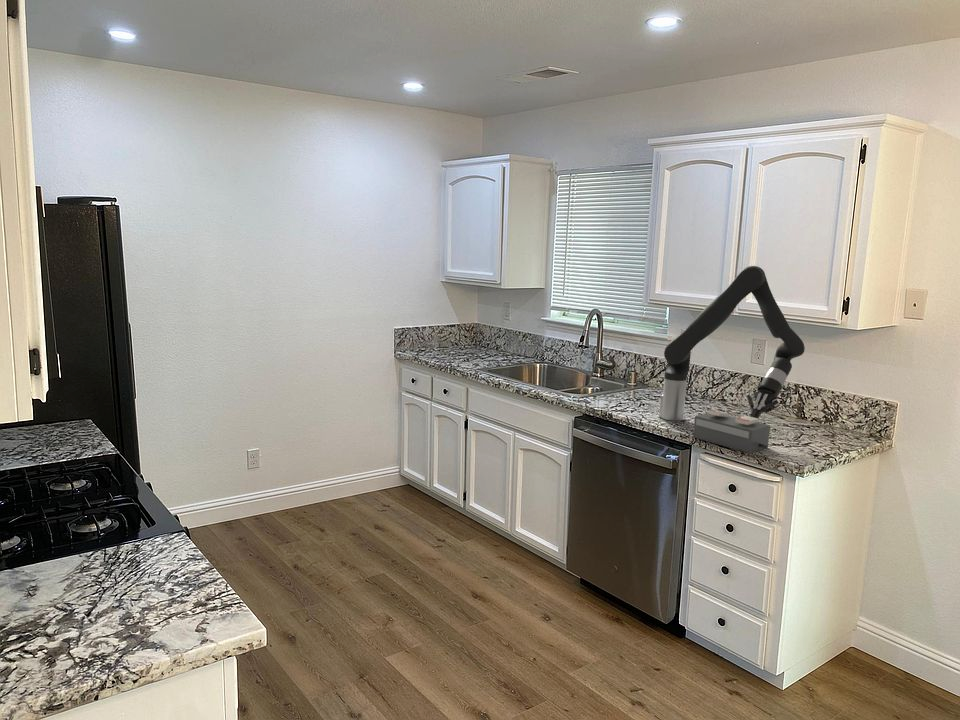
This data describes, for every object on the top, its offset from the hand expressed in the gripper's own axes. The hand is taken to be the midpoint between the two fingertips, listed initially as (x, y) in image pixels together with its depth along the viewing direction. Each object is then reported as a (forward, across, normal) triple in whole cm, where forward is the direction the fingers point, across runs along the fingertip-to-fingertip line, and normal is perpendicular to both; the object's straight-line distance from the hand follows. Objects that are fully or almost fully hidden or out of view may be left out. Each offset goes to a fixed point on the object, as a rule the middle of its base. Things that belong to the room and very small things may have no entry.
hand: (753, 419), depth 267 cm
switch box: (+10, -5, +4) cm, 12 cm away
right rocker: (+3, 0, -3) cm, 4 cm away
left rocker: (+3, -12, -3) cm, 13 cm away
